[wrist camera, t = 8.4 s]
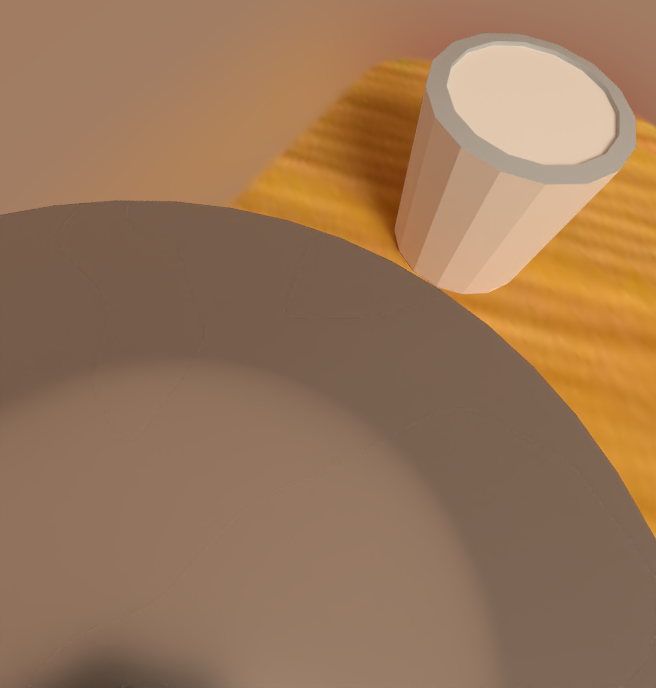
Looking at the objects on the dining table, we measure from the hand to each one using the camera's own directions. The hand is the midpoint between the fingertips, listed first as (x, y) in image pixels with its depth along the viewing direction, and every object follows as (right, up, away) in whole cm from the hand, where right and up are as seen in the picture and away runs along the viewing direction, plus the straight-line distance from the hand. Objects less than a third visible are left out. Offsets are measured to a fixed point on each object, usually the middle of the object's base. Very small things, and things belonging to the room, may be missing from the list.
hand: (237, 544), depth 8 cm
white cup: (+7, +7, +15) cm, 18 cm away
